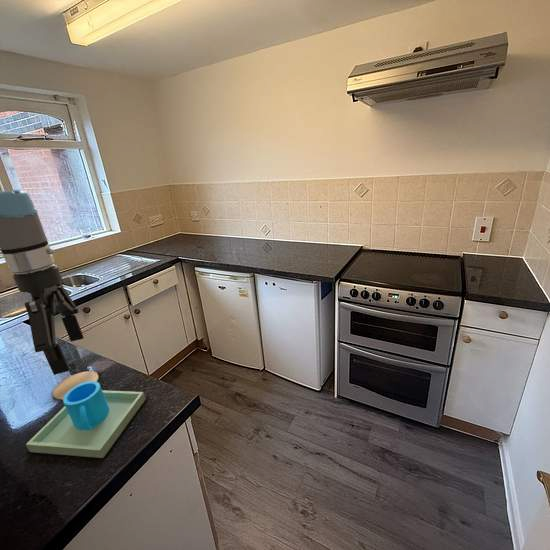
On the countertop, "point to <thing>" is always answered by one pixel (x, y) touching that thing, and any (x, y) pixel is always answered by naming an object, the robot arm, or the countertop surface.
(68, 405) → the mug
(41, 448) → the tray
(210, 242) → the countertop surface
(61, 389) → the coaster
